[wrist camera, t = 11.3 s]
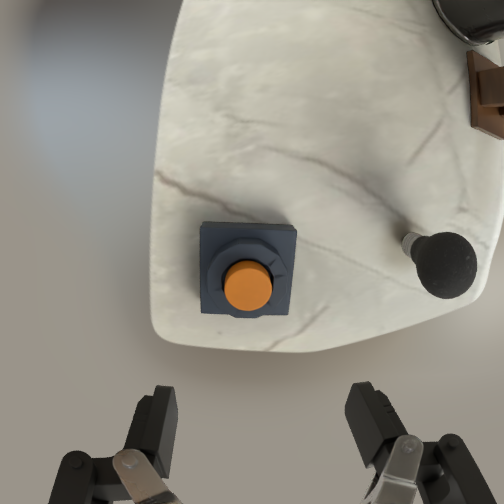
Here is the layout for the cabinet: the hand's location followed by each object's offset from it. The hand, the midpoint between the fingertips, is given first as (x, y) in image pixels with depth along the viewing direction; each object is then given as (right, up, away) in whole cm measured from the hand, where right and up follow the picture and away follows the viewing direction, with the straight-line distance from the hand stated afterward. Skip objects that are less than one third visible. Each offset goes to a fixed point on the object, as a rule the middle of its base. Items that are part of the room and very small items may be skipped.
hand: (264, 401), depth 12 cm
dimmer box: (-1, +5, +16) cm, 17 cm away
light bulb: (+16, +8, +16) cm, 24 cm away
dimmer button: (-1, +4, +12) cm, 13 cm away
